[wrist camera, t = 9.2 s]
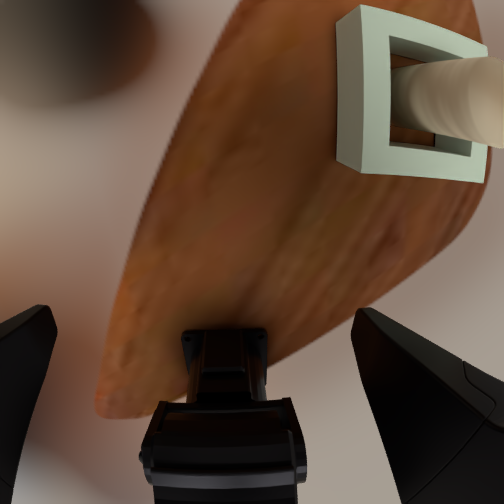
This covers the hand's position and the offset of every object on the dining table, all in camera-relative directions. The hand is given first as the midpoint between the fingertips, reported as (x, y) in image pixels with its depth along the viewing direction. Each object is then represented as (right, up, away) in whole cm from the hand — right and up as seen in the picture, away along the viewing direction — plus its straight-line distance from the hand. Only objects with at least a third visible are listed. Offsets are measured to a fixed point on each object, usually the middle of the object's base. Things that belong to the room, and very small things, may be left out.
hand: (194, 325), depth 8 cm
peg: (+11, +12, +8) cm, 18 cm away
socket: (+11, +12, +8) cm, 18 cm away
